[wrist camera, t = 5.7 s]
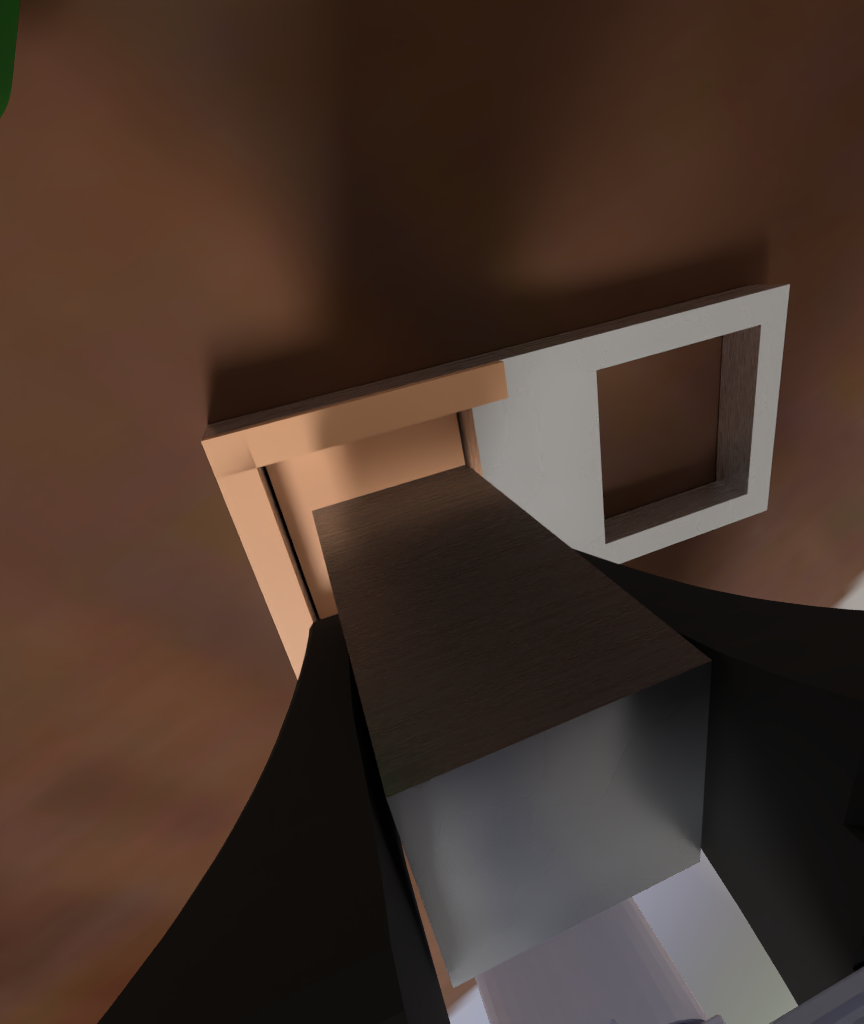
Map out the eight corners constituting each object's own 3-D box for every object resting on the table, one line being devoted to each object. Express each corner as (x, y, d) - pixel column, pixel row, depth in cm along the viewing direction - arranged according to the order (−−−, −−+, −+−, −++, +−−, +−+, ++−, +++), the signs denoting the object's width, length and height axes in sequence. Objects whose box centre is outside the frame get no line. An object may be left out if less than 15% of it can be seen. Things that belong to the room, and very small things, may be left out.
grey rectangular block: (489, 592, 15) (699, 861, 8) (354, 640, 14) (452, 987, 7) (466, 464, 13) (712, 659, 6) (311, 510, 12) (385, 797, 5)
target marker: (511, 575, 19) (534, 601, 17) (296, 651, 17) (300, 686, 16) (478, 355, 16) (503, 361, 14) (207, 425, 14) (201, 441, 12)
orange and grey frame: (734, 496, 21) (766, 510, 20) (296, 651, 17) (299, 680, 16) (749, 285, 18) (789, 284, 16) (207, 425, 14) (202, 438, 13)
